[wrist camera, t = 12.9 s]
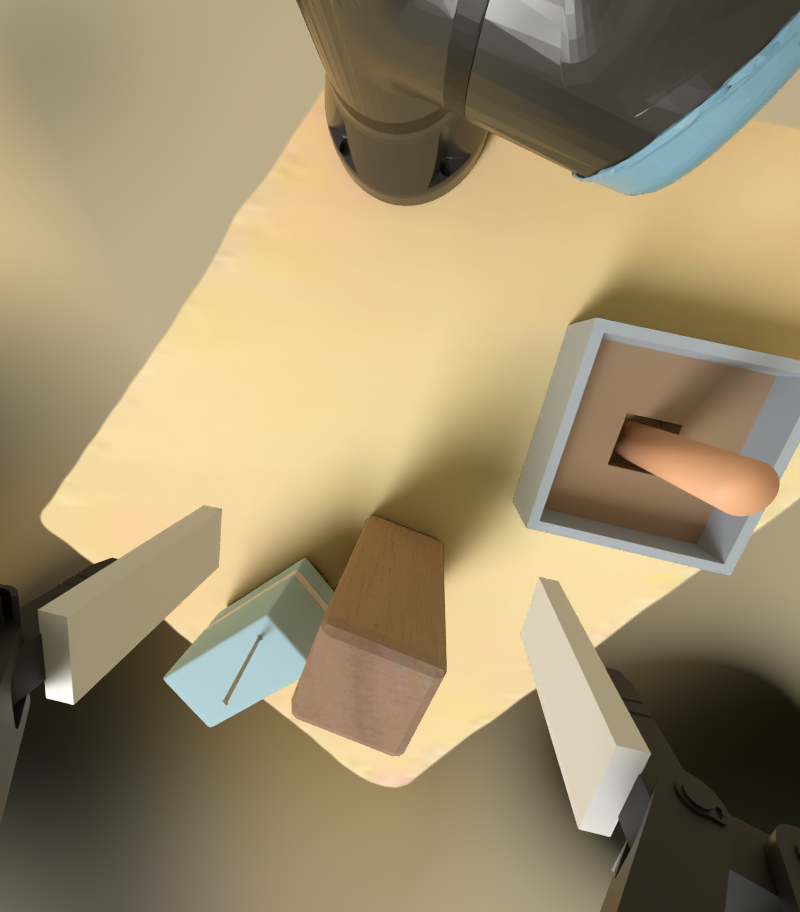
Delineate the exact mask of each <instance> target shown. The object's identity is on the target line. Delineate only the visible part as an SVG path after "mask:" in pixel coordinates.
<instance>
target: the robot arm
mask: <svg viewBox="0 0 800 912" xmlns="http://www.w3.org/2000/svg"><path fill="white" fill-rule="evenodd" d="M296 1H297V3H298V5H299V8H300V10H301V13H302V15H303V18H304V20H305V22H306V25H307V27H308V30H309V32H310V35H311V37H312V39H313V42H314V44H315V47H316V49H317V52H318V54H319V56H320V59H321V61H322V64H323V66H324V69H325V71H326V73H325V74H326V75H325V110H326V118H327V123H328V128H329V132H330V136H331V139H332V142H333V144H334V147H335V149H336V151H337V153H338V155H339V157H340V159H341V161H342V163H343V165H344V167H345V169H346V170H347V172H348V173H349V175H350V176H351V177H352V179H353V180H354V181H355V182H356V183H357V184H358V185H359V186H360V187H361V188H362V189H363V190H364V191H366V192H367V193H368V194H370V195H371V196H373V197H375V198H377V199H379V200H381V201H384V202H387V203H390V204H394V205H403V206H411V205H419V204H424V203H427V202H430V201H433V200H435V199H437V198H439V197H441V196H443V195H445V194H446V193H448V192H449V191H451V190H452V189H453V188H454V187H456V186H457V185H458V184H459V183H460V182H461V181H462V180H463V179H464V178H465V177H466V175H467V174H468V173H469V172H470V170H471V169H472V167H473V166H474V164H475V163H476V161H477V159H478V157H479V156H480V153H481V151H482V149H483V147H484V144H485V141H486V138H487V135H488V131H489V132H491V133H493V134H495V135H497V136H500V137H502V138H504V139H506V140H508V141H510V142H512V143H514V144H516V145H518V146H520V147H522V148H524V149H526V150H528V151H530V152H533V153H535V154H537V155H539V156H541V157H543V158H545V159H547V160H549V161H551V162H553V163H555V164H557V165H559V166H561V167H564V168H566V169H568V170H570V171H572V176H573V177H574V178H576V179H577V180H579V181H582V182H595V183H597V184H600V185H602V186H604V187H607V188H609V189H612V190H614V191H616V192H619V193H621V194H624V195H630V196H635V195H639V194H645V193H652V192H655V191H658V190H660V189H662V188H664V187H666V186H668V185H670V184H672V183H674V182H675V181H677V180H679V179H680V178H682V177H683V176H685V175H686V174H688V173H689V172H690V171H692V170H693V169H695V168H696V167H697V166H699V165H700V164H701V163H702V162H704V161H705V160H706V159H707V158H709V157H710V156H711V155H712V154H713V153H715V152H716V151H717V150H718V149H719V148H720V147H722V146H723V145H724V144H725V143H726V142H727V141H728V140H730V139H731V138H732V137H733V136H734V135H735V134H736V133H737V132H738V131H739V130H740V129H741V128H742V127H743V126H745V125H746V124H747V123H748V122H749V121H750V120H751V119H752V118H753V117H754V116H755V115H756V114H757V113H758V112H759V111H760V110H761V109H762V108H763V107H764V106H765V105H766V104H767V103H768V101H770V100H771V99H772V98H773V96H774V95H775V94H776V93H777V92H778V91H779V90H780V89H781V88H782V87H783V86H784V85H785V84H786V83H787V81H788V80H789V79H790V78H791V77H792V76H793V75H794V74H795V73H796V71H797V70H798V69H799V68H800V0H296ZM221 516H222V509H219V508H215V507H210V506H205V505H204V506H202V507H201V508H199V509H197V510H196V511H194V512H193V513H191V514H189V515H188V516H186V517H185V518H183V519H182V520H180V521H178V522H177V523H175V524H174V525H172V526H170V527H169V528H167V529H166V530H164V531H162V532H161V533H159V534H158V535H156V536H154V537H153V538H151V539H150V540H148V541H146V542H145V543H143V544H142V545H140V546H139V547H137V548H135V549H134V550H132V551H131V552H129V553H127V554H126V555H124V556H123V557H121V558H119V559H115V558H110V559H107V560H104V561H102V562H99V563H96V564H93V565H91V566H89V567H88V568H86V569H84V570H83V571H81V572H80V573H78V574H76V576H75V577H74V576H73V577H71V578H69V579H68V580H66V581H64V582H63V584H62V585H60V584H59V585H58V586H56V587H54V588H53V589H51V590H49V591H48V592H46V593H44V594H43V595H41V596H39V597H38V598H36V599H34V600H32V601H31V602H29V603H27V604H26V605H24V606H22V607H21V608H20V607H19V598H18V590H17V589H16V588H14V587H12V586H9V585H2V584H0V824H1V820H2V815H3V812H4V808H5V803H6V799H7V795H8V791H9V787H10V783H11V779H12V775H13V771H14V767H15V763H16V759H17V755H18V751H19V747H20V742H21V738H22V734H23V730H24V726H25V722H26V718H27V714H28V710H29V706H30V694H29V693H30V692H31V691H32V690H33V689H34V688H36V687H37V686H38V685H39V684H40V683H42V682H43V681H44V680H45V690H46V698H48V699H52V700H57V701H61V702H64V703H69V704H73V705H74V704H75V703H76V702H77V701H78V700H79V699H80V698H81V697H82V696H84V695H85V694H86V693H87V692H88V691H89V690H90V689H91V688H92V687H93V686H94V685H95V684H96V683H97V682H98V681H99V680H100V679H101V678H102V677H103V676H104V675H106V674H107V673H108V672H109V671H110V670H111V669H112V668H113V667H114V666H115V665H116V664H117V663H118V662H119V661H120V660H121V659H122V658H123V657H124V656H126V655H127V654H128V653H129V652H130V651H131V650H132V649H133V648H134V647H135V646H136V645H137V644H138V643H139V642H140V641H141V640H142V639H143V638H144V637H145V636H147V635H148V634H149V633H150V632H151V631H152V630H153V629H154V628H155V627H156V626H157V625H158V624H159V623H160V622H161V621H162V620H163V619H164V618H166V617H167V616H168V615H169V614H170V613H171V612H172V611H173V610H174V609H175V608H176V607H177V606H178V605H179V604H180V603H181V602H182V601H183V600H184V599H185V598H187V597H188V596H189V595H190V594H191V593H192V592H193V591H194V590H195V589H196V588H197V587H198V586H199V585H200V584H201V583H202V582H203V581H204V580H205V579H207V578H208V577H209V576H210V575H211V574H212V573H213V572H214V571H215V570H216V569H217V568H218V567H219V552H220V534H221ZM520 635H521V638H522V641H523V645H524V648H525V651H526V655H527V658H528V661H529V665H530V668H531V671H532V675H533V678H534V682H535V685H536V688H537V691H538V695H539V698H540V701H541V705H542V708H543V712H544V715H545V718H546V721H547V725H548V728H549V731H550V735H551V738H552V742H553V745H554V748H555V752H556V755H557V759H558V762H559V765H560V768H561V772H562V775H563V779H564V782H565V785H566V788H567V791H568V795H569V799H570V802H571V805H572V809H573V812H574V815H575V819H576V822H577V825H578V829H581V830H584V831H589V832H593V833H597V834H601V835H605V836H609V837H610V836H611V834H612V832H613V830H614V828H615V826H616V824H617V822H618V820H619V821H620V824H621V826H622V829H623V831H624V834H625V837H626V839H627V841H626V843H625V845H624V847H623V849H622V851H621V853H620V855H619V857H618V859H617V860H616V862H615V864H614V867H613V868H612V871H613V872H614V874H613V877H612V880H611V883H610V885H609V888H608V891H607V894H606V897H605V900H604V902H603V905H602V908H601V911H600V912H800V829H799V828H797V827H795V826H793V825H786V824H780V825H779V826H778V827H777V828H776V829H775V830H774V832H773V833H772V835H771V836H770V835H768V834H765V833H764V832H762V831H760V830H758V829H756V828H754V827H752V826H750V825H749V824H747V823H745V822H743V821H741V820H739V819H737V818H735V817H733V816H732V815H730V814H729V813H728V811H727V809H726V808H725V806H724V804H723V803H722V802H721V801H720V799H719V798H718V797H717V796H716V795H715V793H714V792H713V791H712V790H710V789H709V788H708V787H707V786H706V785H705V784H704V783H703V782H701V781H700V780H699V779H697V778H696V777H694V776H692V775H691V774H689V773H688V772H686V771H684V770H683V768H682V766H681V765H680V763H679V761H678V760H677V758H676V756H675V755H674V753H673V751H672V750H671V748H670V746H669V745H668V743H667V741H666V739H665V738H664V736H663V734H662V733H661V731H660V729H659V728H658V726H657V724H656V723H655V721H654V720H653V719H651V714H650V713H649V711H648V709H647V708H646V706H645V705H643V701H642V699H641V698H640V696H639V694H638V693H637V691H636V689H635V688H634V686H633V685H632V684H631V683H630V682H629V681H628V680H627V679H626V678H625V677H624V676H623V675H622V674H621V672H620V671H618V670H615V669H610V668H606V667H604V666H603V664H602V662H601V660H600V658H599V656H598V654H597V652H596V651H595V649H594V647H593V645H592V643H591V641H590V639H589V637H588V636H587V634H586V632H585V630H584V628H583V626H582V625H581V623H580V621H579V619H578V617H577V615H576V613H575V612H574V610H573V608H572V606H571V604H570V602H569V600H568V599H567V597H566V595H565V593H564V591H563V589H562V587H561V586H560V584H559V582H558V581H555V580H550V579H546V578H541V577H539V578H538V581H537V584H536V587H535V590H534V593H533V597H532V600H531V603H530V606H529V609H528V612H527V615H526V618H525V621H524V624H523V627H522V630H521V634H520Z"/></svg>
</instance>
